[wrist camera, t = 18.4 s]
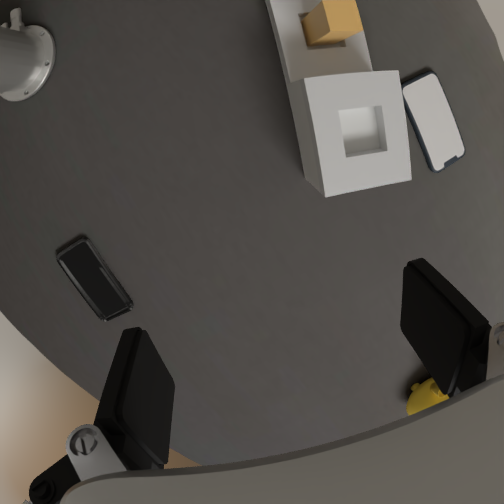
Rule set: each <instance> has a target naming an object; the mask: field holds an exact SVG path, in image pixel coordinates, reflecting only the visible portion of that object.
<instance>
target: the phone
mask: <svg viewBox="0 0 504 504" xmlns="http://www.w3.org/2000/svg"><path fill="white" fill-rule="evenodd" d="M56 259H57V262H58V263H59V265H60V266H61V268H62V269H63V271H64V272H65V273H66V275H67V276H68V278H69V279H70V280H71V282H72V283H73V285H74V286H75V287H76V289H77V290H78V291H79V293H80V294H81V295H82V297H83V298H84V299H85V301H86V302H87V303H88V305H89V306H90V307H91V308H92V310H93V311H94V312H95V314H96V315H97V316H98V317H99V318H100V319H101V320H102V321H109V320H111V319H113V318H115V317H118V316H120V315H122V314H124V313H127V312H129V311H131V310H132V308H133V305H134V304H133V301H132V300H131V298H130V297H129V296H128V294H127V293H126V292H125V290H124V289H123V288H122V286H121V285H120V283H119V282H118V281H117V279H116V278H115V276H114V275H113V274H112V272H111V271H110V269H109V268H108V266H107V265H106V263H105V262H104V260H103V259H102V257H101V256H100V255H99V253H98V252H97V250H96V248H95V247H94V245H93V244H92V242H91V241H90V240H89V239H88V238H86V237H83V238H81V239H79V240H78V241H76V242H75V243H73V244H72V245H70V246H69V247H67V248H65V249H64V250H62V251H61V252H60V253H59V254H58V255H57V257H56Z"/></svg>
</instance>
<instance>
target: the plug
mask: <svg viewBox="0 0 504 504" xmlns="http://www.w3.org/2000/svg"><path fill="white" fill-rule="evenodd" d="M301 24H302V27H303V31H304V35H305V39H306V43H307V47H308V46H318V45H331V44H336V43H338V42H340V41H342V40H344V39H346V38H348V37H350V36H352V35H355V34H357V33H359V32H361V31H363V27H362V23H361V19H360V16H359V12H358V8H357V5H356V1H355V0H322V1H321V2H320V3H319V4H318V5H317V6H316V7H315V8H314V9H313V10H312V11H311V12H310V13H309V14H308V15H307V16H306V17H305V18H304V19H303V20H302V21H301Z"/></svg>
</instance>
